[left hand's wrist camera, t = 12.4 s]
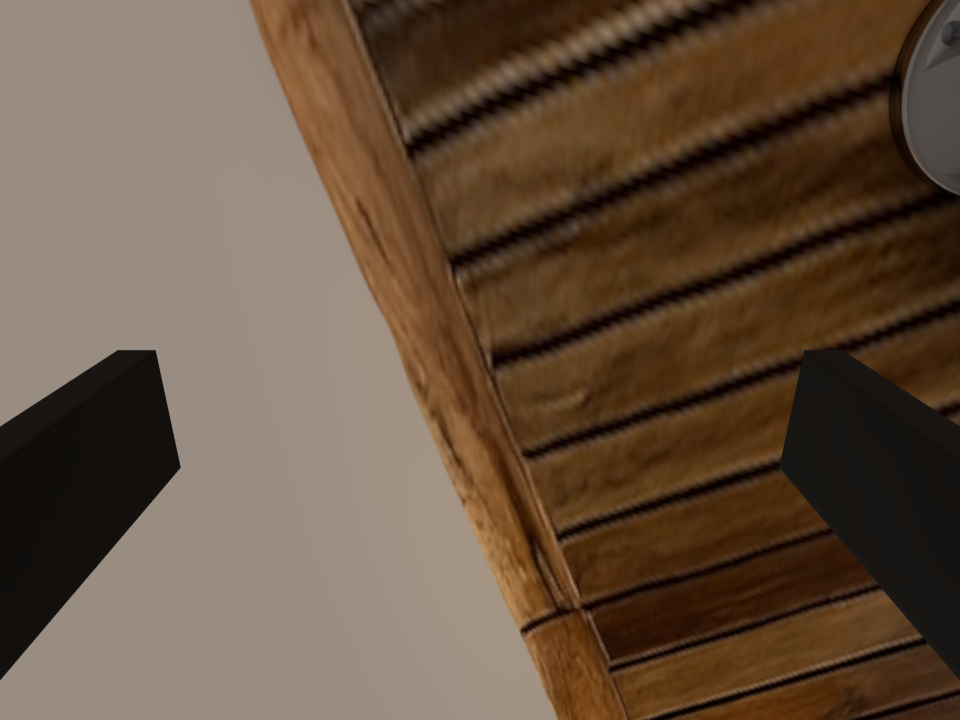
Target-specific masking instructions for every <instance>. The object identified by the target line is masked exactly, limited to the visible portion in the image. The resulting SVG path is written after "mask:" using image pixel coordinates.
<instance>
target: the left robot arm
mask: <svg viewBox="0 0 960 720" xmlns="http://www.w3.org/2000/svg"><path fill="white" fill-rule="evenodd" d="M890 117H891V125H892V131H893V135H894V139H895V142H896V145H897V147H898V150H899V152H900V154H901V156H902V158H903V159H904V161H905V162H906V164H907V165H908V167H909V168H910V169H911V170H912V171H913V172H914V174H915V175H916V176H918V177H919V178H920V179H921V180H922V181H924V182H925V183H927V184H928V185H930V186H931V187H933V188H935V189H937V190H939V191H942V192H945V193H948V194H952V195H956V196H960V0H933V1H932V2H931V4H930V5H929V6H928V7H927V9H926V10H925V11H924V13H923V14H922V16H921V17H920V18H919V20H918V22H917V23H916V25H915V27H914V28H913V30H912V31H911V33H910V35H909V37H908V39H907V41H906V43H905V45H904V48H903V50H902V53H901V55H900V58H899V61H898V64H897V67H896V70H895V74H894V78H893V83H892V90H891V99H890ZM180 468H181V467H180V462H179V457H178V453H177V448H176V443H175V439H174V434H173V429H172V425H171V420H170V415H169V411H168V406H167V401H166V397H165V392H164V387H163V383H162V378H161V373H160V369H159V364H158V359H157V354H156V351H155V350H117V351H116V352H114V353H113V354H111V355H110V356H108V357H107V358H105V359H104V360H102V361H100V362H99V363H97V364H96V365H94V366H93V367H91V368H90V369H88V370H87V371H85V372H83V373H82V374H80V375H79V376H77V377H76V378H74V379H73V380H71V381H70V382H68V383H67V384H65V385H63V386H62V387H60V388H59V389H57V390H56V391H54V392H53V393H51V394H50V395H48V396H47V397H45V398H43V399H42V400H40V401H39V402H37V403H36V404H34V405H33V406H31V407H30V408H28V409H26V410H25V411H23V412H22V413H20V414H19V415H17V416H16V417H14V418H13V419H11V420H10V421H8V422H6V423H5V424H3V425H2V426H0V680H1V679H2V677H3V676H4V675H5V674H6V673H7V672H8V670H9V669H10V668H11V667H12V666H13V665H14V663H15V662H16V661H17V660H18V659H19V657H20V656H21V655H22V654H23V653H24V652H25V650H26V649H27V648H28V647H29V646H30V644H31V643H32V642H33V641H34V640H35V639H36V637H37V636H38V635H39V634H40V633H41V632H42V630H43V629H44V628H45V627H46V626H47V625H48V623H49V622H50V621H51V620H52V619H53V617H54V616H55V615H56V614H57V613H58V612H59V610H60V609H61V608H62V607H63V606H64V604H65V603H66V602H67V601H68V600H69V599H70V597H71V596H72V595H73V594H74V593H75V592H76V590H77V589H78V588H79V587H80V586H81V584H82V583H83V582H84V581H85V580H86V579H87V577H88V576H89V575H90V574H91V573H92V572H93V570H94V569H95V568H96V567H97V566H98V564H99V563H100V562H101V561H102V560H103V559H104V557H105V556H106V555H107V554H108V553H109V551H110V550H111V549H112V548H113V547H114V546H115V544H116V543H117V542H118V541H119V540H120V539H121V537H122V536H123V535H124V534H125V533H126V531H127V530H128V529H129V528H130V527H131V526H132V524H133V523H134V522H135V521H136V520H137V519H138V517H139V516H140V515H141V514H142V513H143V511H144V510H145V509H146V508H147V507H148V506H149V504H150V503H151V502H152V501H153V500H154V498H155V497H156V496H157V495H158V494H159V493H160V491H161V490H162V489H163V488H164V487H165V485H166V484H167V483H168V482H169V481H170V480H171V478H172V477H173V476H174V475H175V474H176V473H177V471H178V470H179V469H180ZM779 468H780V469H781V470H782V471H783V473H784V474H785V475H786V476H787V477H788V478H789V480H790V481H791V482H792V483H793V484H794V486H795V487H796V488H797V489H798V490H799V491H800V493H801V494H802V495H803V496H804V497H805V498H806V500H807V501H808V502H809V503H810V504H811V506H812V507H813V508H814V509H815V510H816V511H817V513H818V514H819V515H820V516H821V517H822V519H823V520H824V521H825V522H826V523H827V524H828V526H829V527H830V528H831V529H832V530H833V531H834V533H835V534H836V535H837V536H838V537H839V539H840V540H841V541H842V542H843V543H844V544H845V546H846V547H847V548H848V549H849V550H850V551H851V553H852V554H853V555H854V556H855V557H856V559H857V560H858V561H859V562H860V563H861V564H862V566H863V567H864V568H865V569H866V570H867V572H868V573H869V574H870V575H871V576H872V577H873V579H874V580H875V581H876V582H877V583H878V584H879V586H880V587H881V588H882V589H883V590H884V592H885V593H886V594H887V595H888V596H889V597H890V599H891V600H892V601H893V602H894V603H895V604H896V606H897V607H898V608H899V609H900V610H901V612H902V613H903V614H904V615H905V616H906V617H907V619H908V620H909V621H910V622H911V623H912V625H913V626H914V627H915V628H916V629H917V630H918V632H919V633H920V634H921V635H922V636H923V637H924V639H925V640H926V641H927V642H928V643H929V645H930V646H931V647H932V648H933V649H934V650H935V652H936V653H937V654H938V655H939V656H940V657H941V659H942V660H943V661H944V662H945V663H946V665H947V666H948V667H949V668H950V669H951V670H952V672H953V673H954V674H955V675H956V676H957V677H958V679H959V680H960V426H958V425H957V424H955V423H954V422H952V421H950V420H949V419H947V418H946V417H944V416H943V415H941V414H940V413H938V412H937V411H935V410H934V409H932V408H930V407H929V406H927V405H926V404H924V403H923V402H921V401H920V400H918V399H917V398H915V397H914V396H912V395H910V394H909V393H907V392H906V391H904V390H903V389H901V388H900V387H898V386H897V385H895V384H893V383H892V382H890V381H889V380H887V379H886V378H884V377H883V376H881V375H880V374H878V373H877V372H875V371H873V370H872V369H870V368H869V367H867V366H866V365H864V364H863V363H861V362H860V361H858V360H856V359H855V358H853V357H852V356H850V355H849V354H847V353H846V352H844V351H843V350H804V354H803V359H802V364H801V368H800V373H799V378H798V383H797V387H796V392H795V397H794V401H793V406H792V411H791V415H790V420H789V425H788V429H787V434H786V439H785V443H784V448H783V453H782V457H781V462H780V467H779Z"/></svg>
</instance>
